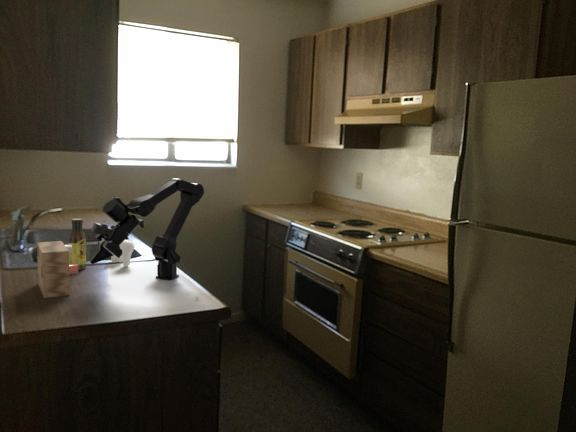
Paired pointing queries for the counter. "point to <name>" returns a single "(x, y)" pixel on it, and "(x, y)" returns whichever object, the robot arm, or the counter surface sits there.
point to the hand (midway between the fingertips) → (91, 263)
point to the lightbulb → (126, 251)
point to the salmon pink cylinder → (73, 269)
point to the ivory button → (69, 248)
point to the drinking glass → (116, 258)
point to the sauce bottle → (77, 245)
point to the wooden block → (53, 269)
